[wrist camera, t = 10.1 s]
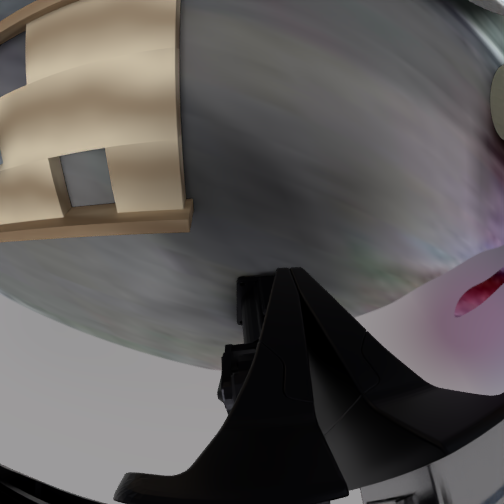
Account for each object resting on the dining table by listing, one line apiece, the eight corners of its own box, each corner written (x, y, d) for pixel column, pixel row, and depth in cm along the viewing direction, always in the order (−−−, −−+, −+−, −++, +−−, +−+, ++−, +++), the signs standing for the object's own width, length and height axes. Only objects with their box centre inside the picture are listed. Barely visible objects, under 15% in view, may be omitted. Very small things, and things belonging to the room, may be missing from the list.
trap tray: (193, 210, 21) (189, 232, 19) (-3, 226, 19) (-18, 243, 17) (190, -29, 10) (184, -44, 8) (-36, 59, 8) (-57, 66, 6)
